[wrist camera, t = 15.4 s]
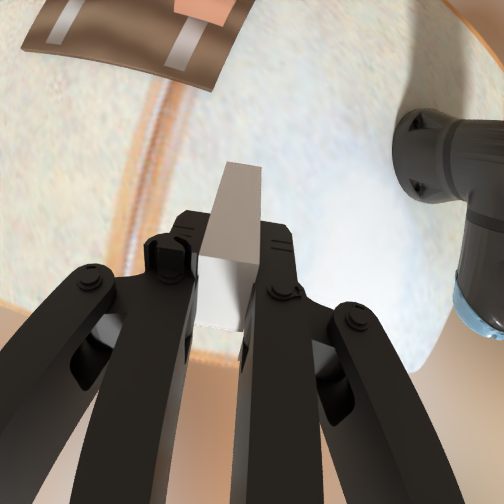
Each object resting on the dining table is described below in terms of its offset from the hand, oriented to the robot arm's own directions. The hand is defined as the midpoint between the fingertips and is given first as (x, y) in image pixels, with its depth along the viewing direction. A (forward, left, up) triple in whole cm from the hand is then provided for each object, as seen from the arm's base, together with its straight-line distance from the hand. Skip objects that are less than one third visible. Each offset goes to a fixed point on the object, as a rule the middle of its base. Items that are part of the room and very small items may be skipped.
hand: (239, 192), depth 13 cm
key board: (+6, -22, -22) cm, 32 cm away
